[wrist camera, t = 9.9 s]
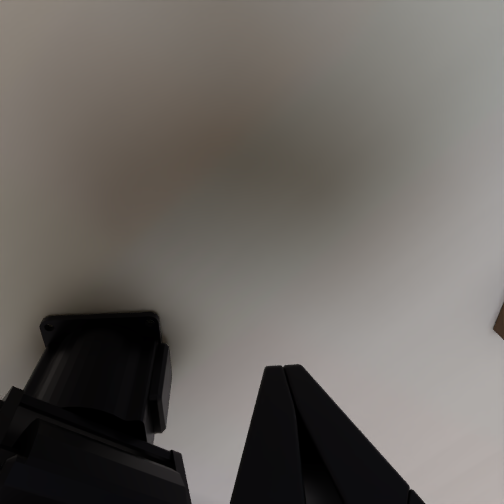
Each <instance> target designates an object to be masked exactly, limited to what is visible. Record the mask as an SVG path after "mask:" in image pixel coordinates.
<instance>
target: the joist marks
mask: <svg viewBox="0 0 504 504" xmlns="http://www.w3.org/2000/svg"><path fill="white" fill-rule="evenodd" d="M493 330H494V331H495V332H496V333H497V334H498V335H499V336H500V337H501V338H502V339H503V340H504V304H503V307H502V309H501V311H500V314H499V316H498V319H497V321H496V324H495V326H494V329H493Z"/></svg>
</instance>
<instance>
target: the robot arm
mask: <svg viewBox="0 0 504 504" xmlns="http://www.w3.org/2000/svg"><path fill="white" fill-rule="evenodd" d="M147 320H152V321H154V322H148V321H147ZM48 324H51V325H52V326H53V327H51V326H49V325H48ZM40 330H41V334H42V337H43V340H44V343H45V347H46V349H45V351H44V353H43V355H42V356H41V358H40V360H39V362H38V364H37V366H36V367H35V369H34V371H33V373H32V375H31V377H30V379H29V380H28V382H27V384H26V386H25V388H24V390H21V389H19V388H16V387H14V386H12V387H11V389H10V390H9V392H8V393H7V394H6V396H5V397H4V398H3V400H0V504H191V499H190V494H189V489H188V484H187V479H186V474H185V469H184V464H183V459H182V455H181V453H179V452H176V451H174V450H170V451H168V450H165V449H163V448H160V447H158V446H155V445H153V441H154V434H156V433H162V432H163V431H164V430H165V429H166V424H167V415H168V406H169V398H170V389H171V380H172V370H171V361H170V351H169V346H168V345H167V344H166V343H162V336H161V327H160V319H159V316H158V315H157V314H156V313H153V312H138V313H114V314H90V315H66V316H48V317H45V318H44V319H43V321H42V322H41V324H40ZM230 504H425V503H424V501H423V500H422V499H421V498H420V497H419V496H418V495H417V494H416V492H415V491H414V490H412V489H410V486H409V485H408V484H407V483H406V481H405V480H404V479H403V478H402V477H401V476H400V475H399V474H398V473H397V471H396V470H395V469H394V468H393V467H392V466H391V465H390V464H389V462H388V461H387V460H386V459H385V458H384V457H383V456H382V455H381V453H380V452H379V451H378V450H377V449H376V448H375V447H374V446H373V445H372V443H371V442H370V441H369V440H368V439H367V438H366V437H365V436H364V434H363V433H362V432H361V431H360V430H359V429H358V428H357V427H356V426H355V424H354V423H353V422H352V421H351V420H350V419H349V418H348V417H347V415H346V414H345V413H344V412H343V411H342V410H341V409H340V408H339V406H338V405H337V404H336V403H335V402H334V401H333V400H332V399H331V398H330V396H329V395H328V394H327V393H326V392H325V391H324V390H323V389H322V387H321V386H320V385H319V384H318V383H317V382H316V381H315V380H314V379H313V377H312V376H311V375H310V374H309V373H308V372H307V371H306V370H305V368H304V367H303V366H302V365H299V364H294V365H285V366H284V367H282V366H281V365H277V366H266V367H265V369H264V373H263V376H262V380H261V384H260V388H259V392H258V396H257V400H256V404H255V407H254V411H253V415H252V419H251V423H250V427H249V431H248V435H247V438H246V442H245V446H244V450H243V454H242V458H241V462H240V466H239V469H238V473H237V477H236V481H235V485H234V489H233V493H232V497H231V500H230Z"/></svg>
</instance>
